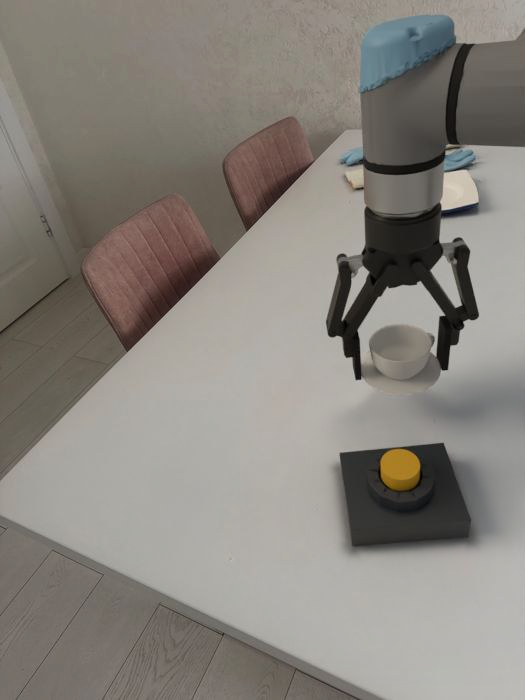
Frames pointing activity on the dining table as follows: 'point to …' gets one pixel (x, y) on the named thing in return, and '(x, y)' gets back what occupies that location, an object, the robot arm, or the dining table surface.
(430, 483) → the yellow button cap base
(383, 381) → the teacup
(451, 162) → the rubber gloves
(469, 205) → the plate
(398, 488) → the yellow button cap
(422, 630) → the dining table surface
